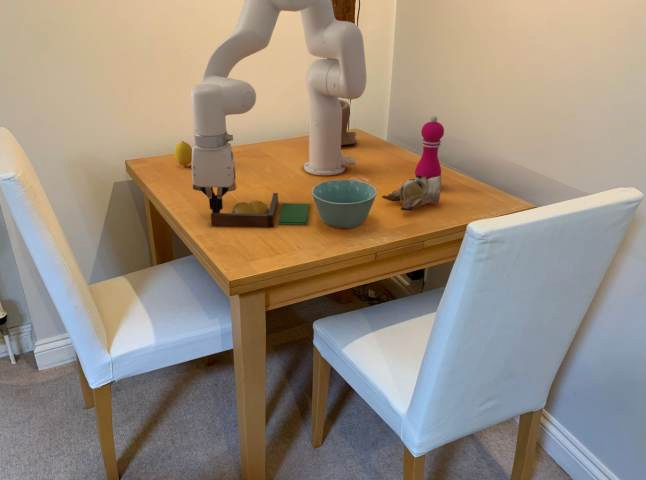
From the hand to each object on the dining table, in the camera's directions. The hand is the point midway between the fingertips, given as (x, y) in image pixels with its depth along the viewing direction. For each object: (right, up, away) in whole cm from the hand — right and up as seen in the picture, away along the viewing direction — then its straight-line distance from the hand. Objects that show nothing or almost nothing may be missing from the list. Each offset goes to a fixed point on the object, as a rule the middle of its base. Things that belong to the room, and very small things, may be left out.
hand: (216, 211), depth 146 cm
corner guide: (+7, 0, +2) cm, 8 cm away
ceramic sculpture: (+51, +2, +7) cm, 52 cm away
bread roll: (+9, -1, 0) cm, 9 cm away
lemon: (-15, +18, +33) cm, 40 cm away
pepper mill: (+57, +9, +19) cm, 60 cm away
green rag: (+20, -1, +2) cm, 20 cm away
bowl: (+32, -3, -2) cm, 32 cm away
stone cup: (+33, +29, +53) cm, 69 cm away
